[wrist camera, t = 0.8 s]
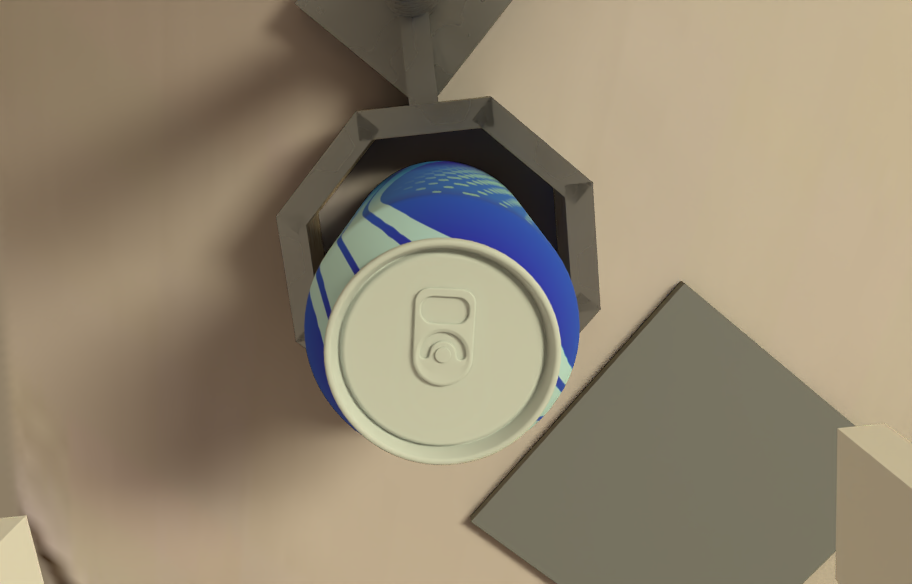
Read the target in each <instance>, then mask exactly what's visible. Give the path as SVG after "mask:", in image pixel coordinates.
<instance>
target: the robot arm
mask: <svg viewBox="0 0 912 584" xmlns="http://www.w3.org/2000/svg"><path fill="white" fill-rule="evenodd" d="M836 580H837V581H838V582H839V584H912V442H910V441H909V440H907V439H906V438H905V437H903V436H902V435H900V434H899V433H898V432H896V431H895V430H894V429H892V428H891V427H889V426H888V425H887V424H885V423H882V424H873V425H863V426H854V427H845V428H837V501H836ZM0 584H44V582H43V578H42V574H41V570H40V567H39V563H38V559H37V555H36V551H35V547H34V543H33V540H32V536H31V532H30V528H29V524H28V520H27V516H26V515H25V516H16V517H6V518H0Z"/></svg>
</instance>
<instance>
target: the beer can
mask: <svg viewBox="0 0 912 584" xmlns="http://www.w3.org/2000/svg"><path fill="white" fill-rule="evenodd" d="M579 330H580V322H579V310H578V304H577V298H576V295H575V291H574V287H573V284H572V281H571V279H570V276H569V274H568V272H567V270H566V268H565V266H564V264H563V262H562V260H561V258H560V257H559V255H558V254H557V252H556V251H555V249H554V248H553V247H552V245H551V244H550V243H549V241H548V240H547V239H546V237H545V236H544V235H543V234H542V232H541V231H540V230H539V228H538V227H537V226H536V224H535V223H534V222H533V220H532V219H531V218H530V217H529V215H528V214H527V213H526V211H525V210H524V209H523V207H522V206H521V205H520V203H519V202H518V201H517V199H516V198H515V197H514V196H513V194H512V193H511V192H510V191H509V190H508V189H507V188H506V187H505V186H504V185H503V184H502V183H501V182H499V181H498V180H497V179H496V178H494V177H493V176H491V175H490V174H488V173H486V172H484V171H482V170H480V169H478V168H475V167H473V166H470V165H467V164H463V163H458V162H451V161H430V162H424V163H419V164H415V165H412V166H409V167H406V168H404V169H401V170H399V171H398V172H396V173H394V174H392V175H391V176H389V177H388V178H386V179H385V180H383V181H382V182H381V183H380V184H379V185H378V186H377V187H376V188H375V189H374V190H373V191H372V192H371V193H370V194H369V195H368V197H367V198H366V199H365V200H364V202H363V203H362V205H361V206H360V207H359V209H358V210H357V212H356V213H355V214H354V216H353V217H352V219H351V220H350V221H349V223H348V224H347V226H346V227H345V228H344V230H343V231H342V233H341V234H340V235H339V237H338V238H337V240H336V241H335V242H334V244H333V245H332V247H331V248H330V249H329V251H328V253H327V254H326V256H325V257H324V259H323V260H322V262H321V264H320V266H319V268H318V270H317V272H316V274H315V276H314V279H313V282H312V284H311V287H310V291H309V294H308V298H307V304H306V310H305V321H304V333H305V344H306V351H307V356H308V359H309V363H310V367H311V369H312V372H313V375H314V377H315V379H316V382H317V384H318V386H319V388H320V390H321V391H322V393H323V394H324V396H325V398H326V399H327V401H328V402H329V403H330V405H331V406H332V407H333V409H334V410H335V411H336V412H337V413H338V414H339V415H340V417H341V418H342V419H343V420H344V421H345V422H346V423H348V424H349V425H350V426H351V427H352V428H353V429H354V430H356V431H357V432H358V433H360V434H361V435H363V436H364V437H365V438H366V439H367V440H369V441H370V442H371V443H373V444H374V445H376V446H377V447H379V448H381V449H382V450H384V451H386V452H388V453H390V454H392V455H395V456H397V457H400V458H403V459H406V460H410V461H413V462H418V463H424V464H433V465H452V464H461V463H466V462H471V461H475V460H478V459H482V458H484V457H487V456H489V455H492V454H494V453H496V452H498V451H500V450H502V449H504V448H505V447H507V446H509V445H510V444H512V443H513V442H514V441H516V440H517V439H518V438H520V437H521V436H522V435H523V434H524V433H525V432H526V431H528V430H529V429H530V428H532V427H533V426H534V425H535V424H536V423H537V422H538V421H539V420H540V419H541V418H542V417H543V416H544V415H545V414H546V413H547V412H548V411H549V409H550V408H551V407H552V405H553V404H554V403H555V401H556V400H557V399H558V397H559V395H560V394H561V392H562V390H563V389H564V387H565V385H566V383H567V381H568V379H569V377H570V374H571V371H572V368H573V366H574V362H575V358H576V354H577V350H578V343H579Z"/></svg>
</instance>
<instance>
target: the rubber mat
mask: <svg viewBox="0 0 912 584" xmlns="http://www.w3.org/2000/svg"><path fill="white" fill-rule="evenodd" d="M845 427H854V425H853V424H852V423H851V422H850V421H848V420H847V419H846V418H845V417H844V416H842V415H841V414H840V413H839V412H838V411H836V410H835V409H834V408H833V407H832V406H831V405H829V404H828V403H827V402H826V401H825V400H823V399H822V398H821V397H820V396H819V395H817V394H816V393H815V392H814V391H813V390H811V389H810V388H809V387H808V386H807V385H805V384H804V383H803V382H802V381H801V380H799V379H798V378H797V377H796V376H795V375H793V374H792V373H791V372H790V371H789V370H788V369H786V368H785V367H784V366H783V365H782V364H780V363H779V362H778V361H777V360H776V359H774V358H773V357H772V356H771V355H770V354H768V353H767V352H766V351H765V350H764V349H762V348H761V347H760V346H759V345H758V344H756V343H755V342H754V341H753V340H752V339H750V338H749V337H748V336H747V335H746V334H745V333H743V332H742V331H741V330H740V329H739V328H737V327H736V326H735V325H734V324H733V323H731V322H730V321H729V320H728V319H727V318H725V317H724V316H723V315H722V314H721V313H719V312H718V311H717V310H716V309H715V308H713V307H712V306H711V305H710V304H709V303H707V302H706V301H705V300H704V299H703V298H702V297H700V296H699V295H698V294H697V293H696V292H694V291H693V290H692V289H691V288H690V287H688V286H687V285H686V284H685V283H683V282H682V281H681V282H680V283H679V284H678V285H677V286H676V288H675V289H674V290H673V291H672V292H671V293H670V294H669V295H668V297H667V298H666V299H665V300H664V301H663V302H662V303H661V304H660V305H659V307H658V308H657V309H656V310H655V311H654V312H653V313H652V314H651V316H650V317H649V318H648V319H647V320H646V321H645V322H644V323H643V325H642V326H641V327H640V328H639V329H638V330H637V331H636V332H635V333H634V335H633V336H632V337H631V338H630V339H629V340H628V341H627V342H626V344H625V345H624V346H623V347H622V348H621V349H620V350H619V351H618V352H617V354H616V355H615V356H614V357H613V358H612V359H611V360H610V361H609V363H608V364H607V365H606V366H605V367H604V368H603V369H602V370H601V371H600V373H599V374H598V375H597V376H596V377H595V378H594V379H593V380H592V382H591V383H590V384H589V385H588V386H587V387H586V388H585V389H584V391H583V392H582V393H581V394H580V395H579V396H578V397H577V398H576V399H575V401H574V402H573V403H572V404H571V405H570V406H569V407H568V408H567V410H566V411H565V412H564V413H563V414H562V415H561V416H560V417H559V418H558V420H557V421H556V422H555V423H554V424H553V425H552V426H551V427H550V429H549V430H548V431H547V432H546V433H545V434H544V435H543V436H542V437H541V439H540V440H539V441H538V442H537V443H536V444H535V445H534V446H533V448H532V449H531V450H530V451H529V452H528V453H527V454H526V455H525V457H524V458H523V459H522V460H521V461H520V462H519V463H518V464H517V465H516V467H515V468H514V469H513V470H512V471H511V472H510V473H509V474H508V476H507V477H506V478H505V479H504V480H503V481H502V482H501V483H500V484H499V486H498V487H497V488H496V489H495V490H494V491H493V492H492V493H491V495H490V496H489V497H488V498H487V499H486V500H485V501H484V502H483V503H482V505H481V506H480V507H479V508H478V509H477V510H476V511H475V512H474V514H473V515H472V516H471V522H472V523H474V524H475V525H476V526H478V527H479V528H480V529H482V530H483V531H485V532H486V533H487V534H489V535H490V536H492V537H493V538H494V539H496V540H497V541H498V542H500V543H501V544H503V545H504V546H505V547H507V548H508V549H510V550H511V551H512V552H514V553H515V554H517V555H518V556H519V557H521V558H522V559H523V560H525V561H526V562H528V563H529V564H530V565H532V566H533V567H535V568H536V569H537V570H539V571H540V572H541V573H543V574H544V575H546V576H547V577H548V578H550V579H551V580H553V581H554V582H555V583H557V584H803V583H804V582H805V581H806V580H807V579H808V578H809V577H810V576H811V575H812V574H813V573H814V572H815V571H816V570H817V569H818V568H819V567H820V566H821V565H822V564H823V563H824V562H825V561H826V560H827V559H828V558H829V557H830V556H831V555H832V554H833V553H834V552H835V551H836V501H837V428H845Z"/></svg>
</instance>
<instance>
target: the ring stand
mask: <svg viewBox="0 0 912 584" xmlns="http://www.w3.org/2000/svg"><path fill="white" fill-rule="evenodd" d="M511 1H512V0H297V1H296V2H295V4H296V5H297V6H298V7H299V8H300V9H302V10H303V11H304V12H305V13H306V14H308V15H309V16H310V17H311V18H312V19H314V20H315V21H316V22H317V23H319V24H320V25H321V26H322V27H323V28H325V29H326V30H327V31H328V32H329V33H331V34H332V35H333V36H334V37H336V38H337V39H338V40H339V41H340V42H342V43H343V44H344V45H345V46H346V47H348V48H349V49H350V50H351V51H352V52H354V53H355V54H356V55H357V56H359V57H360V58H361V59H362V60H363V61H365V62H366V63H367V64H368V65H369V66H371V67H372V68H373V69H374V70H376V71H377V72H378V73H379V74H380V75H382V76H383V77H384V78H385V79H386V80H388V81H389V82H390V83H391V84H393V85H394V86H395V87H396V88H397V89H399V90H400V91H401V92H402V93H403V94H405V95H406V96H407V97H408V99H409V105H405V106H396V107H386V108H377V109H368V110H358V111H356V112H355V113H354V115H353V116H352V117H351V119H350V120H349V121H348V123H347V124H346V125H345V127H344V128H343V129H342V130H341V132H340V133H339V134H338V136H337V137H336V138H335V140H334V141H333V142H332V144H331V145H330V146H329V147H328V149H327V150H326V151H325V153H324V154H323V155H322V157H321V158H320V159H319V161H318V162H317V163H316V165H315V166H314V167H313V168H312V170H311V171H310V172H309V174H308V175H307V176H306V178H305V179H304V180H303V182H302V183H301V184H300V186H299V187H298V188H297V189H296V191H295V192H294V193H293V195H292V196H291V197H290V199H289V200H288V201H287V203H286V204H285V205H284V206H283V208H282V209H281V210H280V212H279V213H278V214H277V215H276V220H277V226H278V232H279V238H280V245H281V251H282V257H283V263H284V269H285V276H286V282H287V288H288V294H289V300H290V307H291V313H292V319H293V325H294V332H295V338H296V342H297V343H299V344H300V345H301V346H303V347H304V348H305V349H306V344H305V333H304V321H305V310H306V304H307V298H308V294H309V291H310V287H311V284H312V282H313V279H314V276H315V274H316V272H317V270H318V268H319V266H320V264H321V262H322V260H323V259H324V257H325V256H324V249H323V242H322V235H321V228H320V222H319V215H318V213H319V211H320V210H321V209H322V208H323V206H324V205H325V204H326V202H327V201H328V200H329V199H330V197H331V196H332V195H333V193H334V192H335V191H336V190H337V188H338V187H339V186H340V184H341V183H342V182H343V180H344V179H345V178H346V177H347V175H348V174H349V173H350V171H351V170H352V169H353V168H354V166H355V165H356V164H357V162H358V161H359V160H360V159H361V157H362V156H363V155H364V153H365V152H366V151H367V149H368V148H369V147H370V146H371V144H372V143H373V142H374V140H375V139H383V138H392V137H402V136H411V135H420V134H430V133H439V132H448V131H458V130H467V129H476V128H482V129H483V130H484V131H486V132H487V133H488V134H489V135H490V136H492V137H493V138H494V139H495V140H496V141H498V142H499V143H500V144H501V145H502V146H504V147H505V148H506V149H507V150H508V151H510V152H511V153H512V154H513V155H514V156H516V157H517V158H518V159H519V160H520V161H522V162H523V163H524V164H525V165H526V166H528V167H529V168H530V169H531V170H532V171H534V172H535V173H536V174H537V175H538V176H540V177H541V178H542V179H543V180H544V181H546V182H547V183H548V184H549V185H550V186H552V187H553V191H554V205H555V218H556V232H557V245H558V255H559V257H560V258H561V260H562V262H563V264H564V266H565V268H566V270H567V272H568V274H569V276H570V279H571V281H572V284H573V287H574V291H575V295H576V298H577V304H578V310H579V322H580V330H579V333H580V332H581V331H582V330H583V329H584V327H585V326H586V325H587V324H588V323H589V322H590V321H591V319H592V318H593V317H594V316H595V315H596V314H597V313H598V311H599V310H601V308H600V293H599V277H598V261H597V244H596V228H595V212H594V196H593V182H592V181H590V180H589V179H588V178H587V177H586V176H584V175H583V174H582V173H581V172H580V171H579V170H577V169H576V168H575V167H574V166H573V165H571V164H570V163H569V162H568V161H567V160H565V159H564V158H563V157H562V156H561V155H560V154H558V153H557V152H556V151H555V150H554V149H552V148H551V147H550V146H549V145H548V144H547V143H545V142H544V141H543V140H542V139H541V138H539V137H538V136H537V135H536V134H535V133H534V132H532V131H531V130H530V129H529V128H528V127H526V126H525V125H524V124H523V123H522V122H520V121H519V120H518V119H517V118H516V117H515V116H513V115H512V114H511V113H510V112H509V111H507V110H506V109H505V108H504V107H503V106H502V105H500V104H499V103H498V102H497V101H496V100H494V99H493V98H492V97H491V96H486V97H479V98H470V99H461V100H452V101H442V102H438V95H439V93H440V92H441V91H442V90H443V88H444V87H445V86H446V84H447V83H448V82H449V81H450V79H451V78H452V77H453V75H454V74H455V73H456V72H457V70H458V69H459V68H460V67H461V65H462V64H463V63H464V61H465V60H466V59H467V58H468V56H469V55H470V54H471V52H472V51H473V50H474V49H475V47H476V46H477V45H478V43H479V42H480V41H481V40H482V38H483V37H484V36H485V35H486V33H487V32H488V31H489V29H490V28H491V27H492V26H493V24H494V23H495V22H496V20H497V19H498V18H499V17H500V15H501V14H502V13H503V12H504V10H505V9H506V8H507V6H508V5H509V4H510V3H511Z"/></svg>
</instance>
